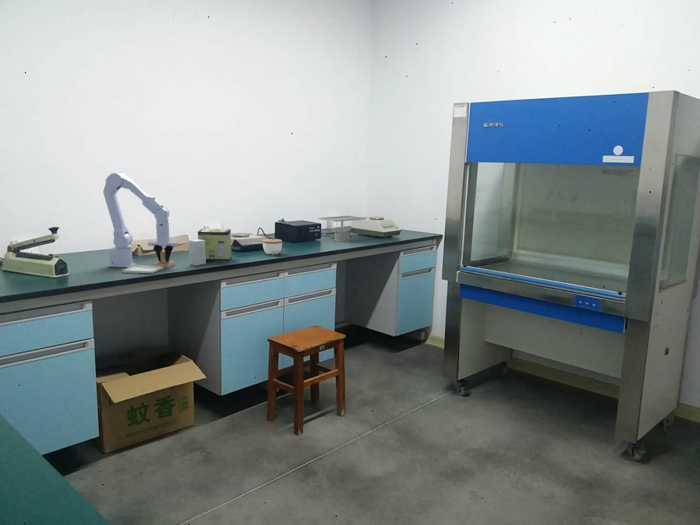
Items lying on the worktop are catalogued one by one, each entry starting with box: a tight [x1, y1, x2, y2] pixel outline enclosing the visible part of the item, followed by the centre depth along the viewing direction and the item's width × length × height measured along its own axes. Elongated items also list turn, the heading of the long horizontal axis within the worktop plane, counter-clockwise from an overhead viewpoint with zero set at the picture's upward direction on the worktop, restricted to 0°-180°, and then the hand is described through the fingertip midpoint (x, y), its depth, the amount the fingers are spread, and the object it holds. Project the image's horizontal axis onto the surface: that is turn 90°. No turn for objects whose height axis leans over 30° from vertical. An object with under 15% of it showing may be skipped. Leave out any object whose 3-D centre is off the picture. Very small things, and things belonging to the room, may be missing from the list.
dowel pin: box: [160, 250, 167, 264], centre depth 270 cm, size 3×3×7 cm
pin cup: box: [152, 260, 176, 269], centre depth 270 cm, size 7×7×2 cm
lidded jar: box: [262, 236, 283, 256], centre depth 310 cm, size 11×11×9 cm
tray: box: [121, 264, 164, 274], centre depth 258 cm, size 14×12×1 cm
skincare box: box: [189, 239, 207, 266], centre depth 276 cm, size 6×4×12 cm
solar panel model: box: [317, 215, 367, 243], centre depth 367 cm, size 28×17×15 cm, turn 133°
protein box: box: [197, 228, 232, 263], centre depth 288 cm, size 10×16×16 cm
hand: (163, 261), depth 270 cm, fingers closed on dowel pin, 3 cm apart
